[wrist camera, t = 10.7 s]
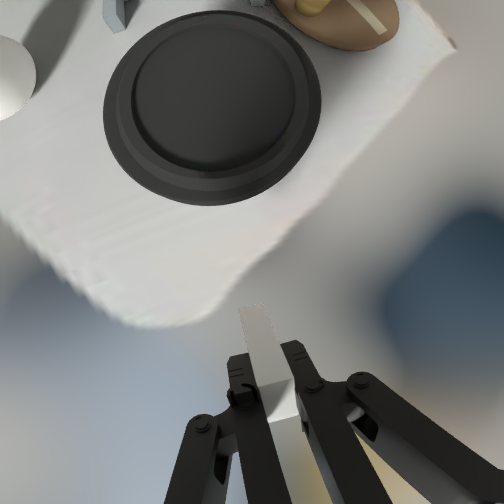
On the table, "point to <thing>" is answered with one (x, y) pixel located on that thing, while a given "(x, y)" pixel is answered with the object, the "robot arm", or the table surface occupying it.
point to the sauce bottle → (15, 76)
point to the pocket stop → (116, 13)
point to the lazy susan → (344, 21)
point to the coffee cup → (212, 107)
